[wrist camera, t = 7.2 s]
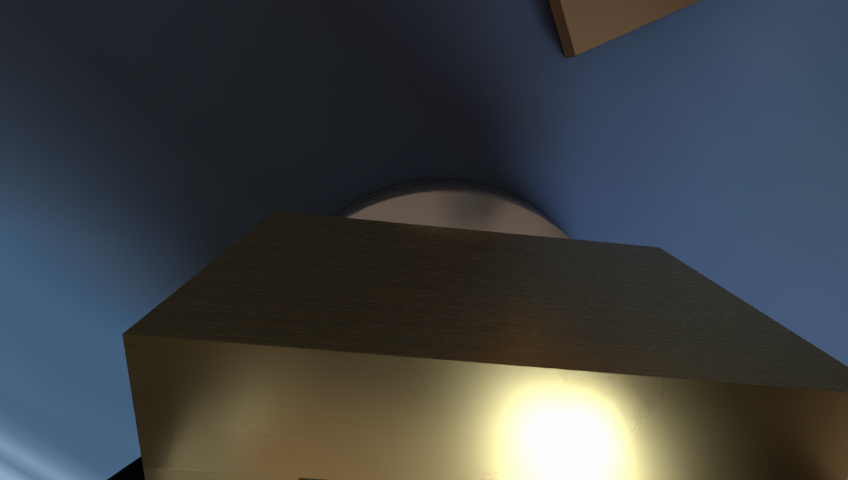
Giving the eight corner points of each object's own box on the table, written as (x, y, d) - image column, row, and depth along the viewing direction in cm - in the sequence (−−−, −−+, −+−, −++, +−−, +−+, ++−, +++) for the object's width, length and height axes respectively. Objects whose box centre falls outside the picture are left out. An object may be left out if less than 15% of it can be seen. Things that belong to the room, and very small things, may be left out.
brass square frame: (659, 247, 8) (893, 395, 4) (574, 520, 10) (670, 781, 6) (274, 211, 7) (121, 334, 4) (279, 502, 10) (189, 765, 6)
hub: (535, 122, 9) (721, 165, 4) (624, 392, 12) (816, 669, 6) (226, 256, 10) (-11, 456, 5) (368, 480, 13) (328, 791, 7)
